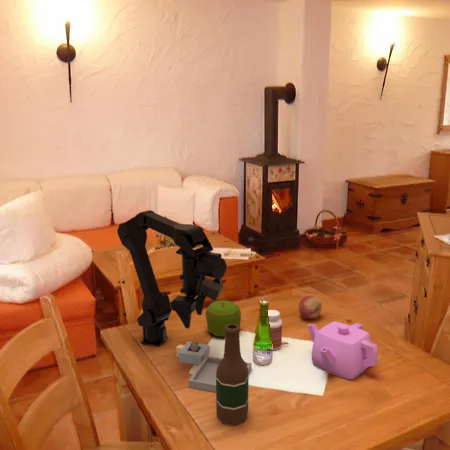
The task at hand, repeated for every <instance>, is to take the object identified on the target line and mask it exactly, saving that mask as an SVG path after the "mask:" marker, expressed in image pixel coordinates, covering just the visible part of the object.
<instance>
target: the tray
mask: <svg viewBox="0 0 450 450" xmlns="http://www.w3.org/2000/svg"><path fill="white" fill-rule="evenodd" d="M222 358H223V357H217V356H211V355H209V356H206V357H205V358H204V360H203V361H202V362H201V364H200V365H198V366H197V368H196V369H195V371H194V372H193V373H192V375H191V377H190V378H189V379H188V388H189V389H196V390H201V391H207V392H211V393H216V371H217V368H218V365H219V363H220V361H221V360H222ZM245 363H246V365H247V367H248V375H249V376H250V374H251V372H252V370H253V369H252V362H247V361H245Z"/></svg>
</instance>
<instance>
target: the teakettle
mask: <svg viewBox="0 0 450 450" xmlns="http://www.w3.org/2000/svg"><path fill="white" fill-rule="evenodd" d="M306 326H307V330H308V332H309V335H310V338H311V341H312V350H311V362H312V364H313V366H315V367H317V368H319V369H321V370H323V371H324V372H327V373H329V374H331V375H334V376H337V377H340V378H342V379H345V380H350V381H352V380H354V379H356V378H357V377H359V376H360V375H361V374H362V373H364V372H365V371H367V369H368V368H370V367H374V366H376V365H377V364H378V361H379V360H378V344H376V343H374V342H371V341H372V340H371V336H370V333H369V332H368V331H366V330H364V325H363V324H362V323H359V322H354V323H353V324H350V325H349V324H347V323H344V322H339V321H335V320H334V321H332V322H330V323H328V324H326V325H324V326H322V328H320V329H319V328H317V326H316V325H315V324H313V323H309V324H307V325H306Z"/></svg>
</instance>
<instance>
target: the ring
mask: <svg viewBox="0 0 450 450" xmlns="http://www.w3.org/2000/svg"><path fill="white" fill-rule="evenodd" d="M193 342H194V341H193ZM193 342H192V341H187V342H186V343H185V344H178V345H177V346H176V358H178V362H179V363H184V364H190V365H196V366H199V365H200V364H201V362H202V361H203V360H204V358H205V357H206V356H210V354H211V349H210V347H211V346H210V344H206V343H200V342H197V343H198V352H193V351H191V343H193Z"/></svg>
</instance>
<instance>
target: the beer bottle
mask: <svg viewBox="0 0 450 450" xmlns="http://www.w3.org/2000/svg"><path fill="white" fill-rule="evenodd" d="M224 331H225V337H224V347H223V351H224V352H223V356H222V357H221V358H222V360H221V361H220V363H219V365H218V368H217V371H216V392H215V396H216V398H215V400H216V401H215V404H216V405H215V406H216V407H215V408H216V416H217V418H218V420H220V422H221V423H222V424H225V425H229V426H236V425H239V424H242V423H245V421H246V419H247V417H248V414H249V376H250V374H249V375H248V367H247V365H246V363H245V362H246V361H245V360H244V359H243V357H242V353H241V344H240V343H241V341H240V332H241V328H240V327H239V326H238V325H236V324H229V325H226V327H225V329H224Z"/></svg>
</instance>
